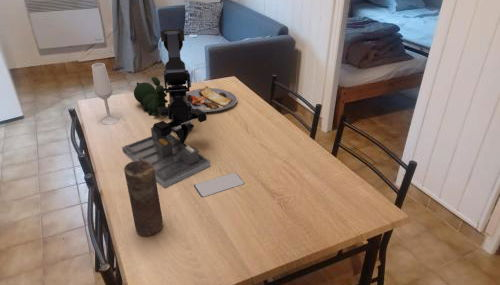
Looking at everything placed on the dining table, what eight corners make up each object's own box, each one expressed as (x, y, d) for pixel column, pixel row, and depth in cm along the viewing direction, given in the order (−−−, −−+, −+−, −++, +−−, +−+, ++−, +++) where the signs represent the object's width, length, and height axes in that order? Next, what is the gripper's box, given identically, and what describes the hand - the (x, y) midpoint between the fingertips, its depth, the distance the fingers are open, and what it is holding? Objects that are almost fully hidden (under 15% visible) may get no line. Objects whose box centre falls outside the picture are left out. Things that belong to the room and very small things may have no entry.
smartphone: (193, 184, 116) (235, 172, 123) (193, 186, 117) (235, 173, 123) (201, 197, 111) (245, 183, 117) (201, 198, 111) (245, 184, 118)
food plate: (172, 100, 170) (172, 93, 168) (212, 88, 184) (212, 81, 182) (205, 120, 155) (205, 113, 153) (246, 105, 169) (246, 98, 167)
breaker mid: (166, 149, 130) (165, 136, 127) (172, 153, 128) (171, 141, 125) (156, 153, 128) (154, 140, 125) (162, 158, 125) (161, 145, 123)
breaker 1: (161, 135, 139) (160, 122, 136) (167, 139, 136) (165, 126, 134) (152, 138, 136) (150, 126, 134) (157, 142, 134) (156, 130, 131)
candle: (138, 217, 103) (127, 158, 93) (164, 216, 104) (156, 157, 94) (133, 237, 97) (120, 176, 86) (161, 236, 97) (152, 175, 87)
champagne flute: (117, 115, 156) (107, 61, 144) (118, 122, 151) (107, 66, 138) (101, 118, 154) (88, 63, 142) (101, 125, 149) (88, 68, 136)
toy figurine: (174, 120, 157) (148, 96, 172) (172, 80, 146) (144, 58, 162) (154, 126, 152) (129, 101, 167) (150, 85, 141) (123, 62, 156)
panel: (166, 135, 143) (165, 129, 141) (210, 166, 125) (209, 159, 124) (123, 151, 132) (121, 145, 131) (164, 188, 115) (163, 180, 113)
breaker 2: (192, 156, 126) (191, 144, 124) (199, 161, 124) (198, 148, 121) (182, 161, 124) (181, 148, 121) (189, 166, 121) (188, 153, 119)
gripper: (188, 89, 134) (191, 126, 142) (141, 103, 123) (147, 143, 131) (206, 98, 127) (208, 137, 135) (159, 114, 116) (164, 156, 124)
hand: (182, 142), depth 131 cm, fingers closed
